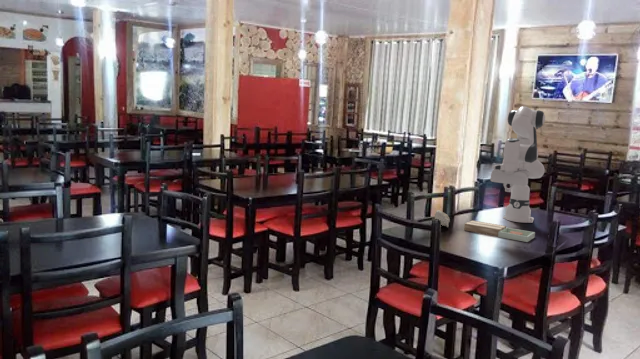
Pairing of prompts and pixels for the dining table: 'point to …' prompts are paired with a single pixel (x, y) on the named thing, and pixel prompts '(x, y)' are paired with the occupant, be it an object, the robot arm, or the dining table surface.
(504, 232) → the tray
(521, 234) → the tile
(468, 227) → the board
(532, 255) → the dining table surface
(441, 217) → the cheese
